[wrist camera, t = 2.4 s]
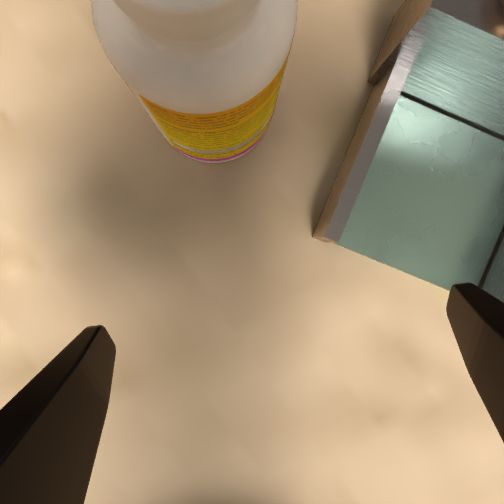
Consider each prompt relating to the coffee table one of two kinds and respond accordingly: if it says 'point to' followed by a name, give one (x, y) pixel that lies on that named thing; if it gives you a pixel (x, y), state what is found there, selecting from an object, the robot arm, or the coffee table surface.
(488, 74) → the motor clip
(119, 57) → the supplement bottle
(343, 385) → the coffee table surface
